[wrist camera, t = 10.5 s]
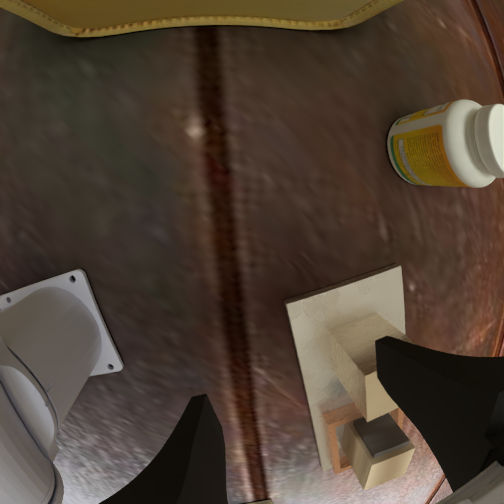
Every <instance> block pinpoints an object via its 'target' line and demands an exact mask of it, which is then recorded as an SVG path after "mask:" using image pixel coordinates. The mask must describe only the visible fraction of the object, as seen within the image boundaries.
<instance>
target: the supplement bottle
mask: <svg viewBox="0 0 504 504" xmlns="http://www.w3.org/2000/svg"><path fill="white" fill-rule="evenodd" d="M387 146H388V153H389V157H390V160H391V163H392V165H393V167H394V169H395V171H396V172H397V173H398V174H399V175H400V177H402V178H403V179H404V180H405V181H407V182H409V183H411V184H415V185H430V186H455V187H473V188H480V187H485V186H487V185H489V184H490V183H492V182H493V181H494V179H495V178H496V177H497V178H504V105H502V104H494V105H488V106H481V105H479V104H478V103H476V102H474V101H471V100H457V101H453V102H449V103H446V104H443V105H439V106H436V107H432V108H429V109H425V110H422V111H419V112H416V113H413V114H410V115H407V116H404V117H402V118H400V119H398V120H397V121H396V122H395V123H394V124H393V125H392V127H391V129H390V131H389V134H388V140H387Z"/></svg>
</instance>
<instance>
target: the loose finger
mask: <svg viewBox="0 0 504 504" xmlns="http://www.w3.org/2000/svg"><path fill="white" fill-rule="evenodd" d="M341 447H342V449H343V451H344V453H345V455H346V457H347V459H348V461H349V463H350V465H351V466H352V468H353V470H354V472H355V474H356V476H357V478H358V480H359V482H360V484H361V486H362V488H363V490H366V489H369V488H372V487H375V486H377V485H380V484H382V483H385V482H387V481H390V480H392V479H395V478H397V477H399V476H402V475H404V474H405V472H406V470H407V467H408V465H409V463H410V460H411V458H412V455H413V453H414V450H415V448H416V447H415V446H414V445H413V444H412V442H411V441H410V440H409V438H408V437H407V436H406V435H405V433H404V432H403V431H402V429H401V428H400V427H399V425H398V424H397V423H396V422H395V420H394V419H393V418H392V416H391V415H390V414H389V413H386V414H384V415H382V416H380V417H378V418H375V419H373V420H371V421H369V422H367V421H366V419H365V418H364V416H362V417H360V418H357V419H355V420H353V421H350V422H348V423H345V424H344V432H343V439H342V446H341Z"/></svg>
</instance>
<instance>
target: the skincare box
mask: <svg viewBox="0 0 504 504" xmlns="http://www.w3.org/2000/svg"><path fill="white" fill-rule="evenodd" d="M247 504H273V502H272V501H271V500H265V501H259V502H253V503H247Z"/></svg>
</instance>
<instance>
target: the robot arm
mask: <svg viewBox="0 0 504 504" xmlns="http://www.w3.org/2000/svg"><path fill="white" fill-rule="evenodd" d="M72 275H73V276H74V277H75V278H76V281H73V279H72ZM9 298H10V299H11V301H10V300H9ZM0 309H1V310H0V504H61V503H62V500H63V494H64V486H63V481H62V478H61V475H60V473H59V471H58V470H57V468H56V467H55V465H54V464H53V461H54V459H55V457H56V455H57V453H58V450H59V448H58V446H57V444H56V441H55V437H56V434H57V432H58V430H59V428H60V427H61V425H62V423H63V421H64V419H65V417H66V416H67V414H68V412H69V410H70V408H71V407H72V405H73V403H74V401H75V400H76V398H77V396H78V394H79V393H80V391H81V389H82V388H83V386H84V384H85V382H86V381H87V379H88V377H89V376H93V375H100V374H106V373H112V372H117V371H121V370H122V368H123V365H124V364H123V362H122V360H121V357H120V355H119V353H118V351H117V349H116V347H115V345H114V343H113V340H112V338H111V336H110V334H109V332H108V329H107V327H106V325H105V322H104V320H103V318H102V315H101V313H100V310H99V308H98V305H97V303H96V300H95V298H94V295H93V292H92V290H91V287H90V284H89V282H88V279H87V276H86V274H85V272H84V271H83V270H82V269H77V270H73V271H70V272H67V273H64V274H61V275H58V276H55V277H52V278H49V279H46V280H44V281H41V282H38V283H35V284H32V285H29V286H26V287H23V288H20V289H18V290H15V291H12V292H9V293H6V294H3V295H1V296H0ZM375 350H376V366H377V378H378V380H379V381H380V383H381V385H382V386H383V388H384V389H385V391H386V392H387V394H388V395H389V396H390V397H391V399H392V400H393V401H394V402H395V403H396V404H397V406H398V407H399V408H400V409H401V410H402V411H403V412H404V414H405V415H406V416H407V417H408V418H409V419H410V421H411V422H412V423H413V424H414V425H415V426H416V428H417V429H418V430H419V432H420V433H421V435H422V436H423V438H424V439H425V441H426V442H427V444H428V445H429V447H430V449H431V450H432V452H433V454H434V456H435V457H436V459H437V461H438V463H439V464H440V466H441V468H442V470H443V472H444V474H445V476H446V478H447V480H448V482H449V484H450V487H451V489H452V491H453V493H452V494H451V495H449V496H448V497H446V498H444V499H443V500H441V501H440V502H438V503H436V504H504V356H502V357H471V356H462V355H455V354H449V353H445V352H440V351H436V350H432V349H429V348H425V347H422V346H419V345H415V344H412V343H409V342H406V341H403V340H400V339H397V338H394V337H391V336H385V337H382V338H380V339H378V340H375ZM109 364H111V365H113V366H114V367H111V366H110V365H109ZM99 504H228V501H227V492H226V460H225V443H224V437H223V431H222V426H221V424H220V422H219V420H218V418H217V416H216V414H215V412H214V410H213V407H212V405H211V403H210V401H209V399H208V396H207V394H203V395H198V396H193V397H192V398H191V399H190V401H189V403H188V405H187V407H186V409H185V411H184V413H183V414H182V416H181V418H180V420H179V422H178V424H177V425H176V427H175V429H174V431H173V432H172V434H171V435H170V437H169V438H168V440H167V441H166V443H165V444H164V446H163V447H162V449H161V450H160V452H159V453H158V454H157V455H156V457H155V458H154V459H153V460H152V461H151V462H150V464H149V465H148V466H147V467H146V468H145V469H144V470H143V471H142V472H141V473H140V474H139V475H138V476H137V477H135V478H134V479H133V480H132V481H131V482H130V483H129V484H127V485H126V486H125V487H123V488H122V489H121V490H119V491H118V492H117V493H115V494H114V495H112V496H111V497H109V498H107V499H106V500H104V501H102V502H101V503H99Z"/></svg>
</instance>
